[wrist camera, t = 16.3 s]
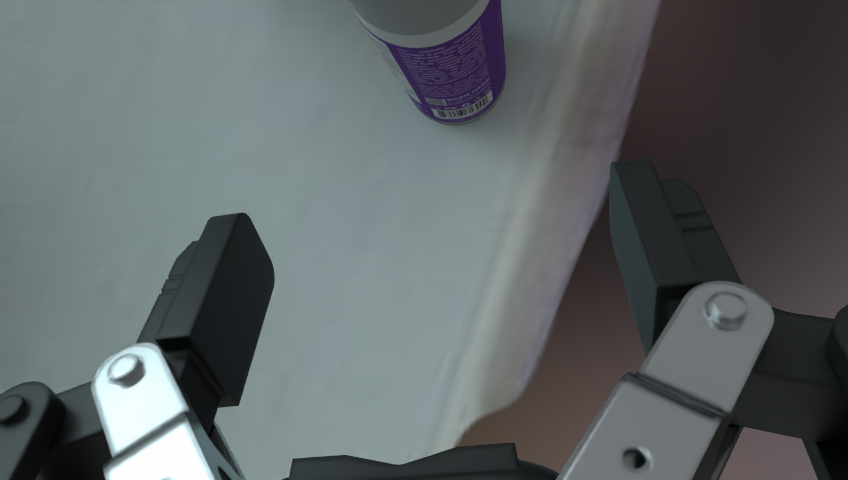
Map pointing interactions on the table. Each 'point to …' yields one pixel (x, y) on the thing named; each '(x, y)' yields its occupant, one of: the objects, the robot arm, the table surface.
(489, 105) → the container
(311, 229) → the table surface
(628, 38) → the table surface
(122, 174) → the table surface
